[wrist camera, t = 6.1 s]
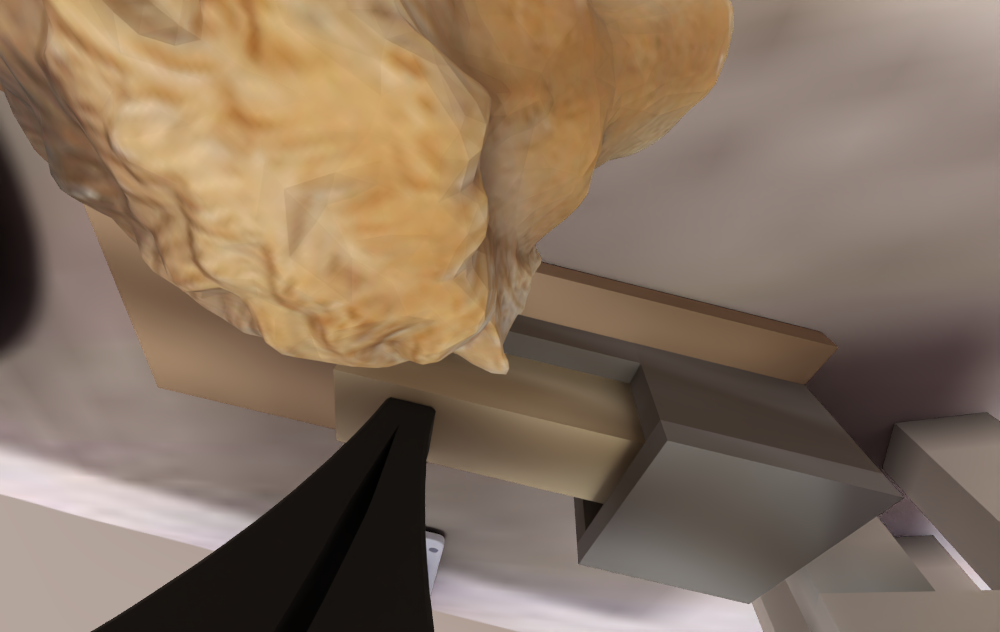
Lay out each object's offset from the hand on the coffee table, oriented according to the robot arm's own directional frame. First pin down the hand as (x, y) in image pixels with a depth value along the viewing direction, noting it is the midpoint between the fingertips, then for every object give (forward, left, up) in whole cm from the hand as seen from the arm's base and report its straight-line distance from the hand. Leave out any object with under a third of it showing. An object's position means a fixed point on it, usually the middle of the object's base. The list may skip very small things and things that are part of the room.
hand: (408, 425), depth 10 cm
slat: (0, -4, -2) cm, 5 cm away
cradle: (0, 0, -3) cm, 3 cm away
